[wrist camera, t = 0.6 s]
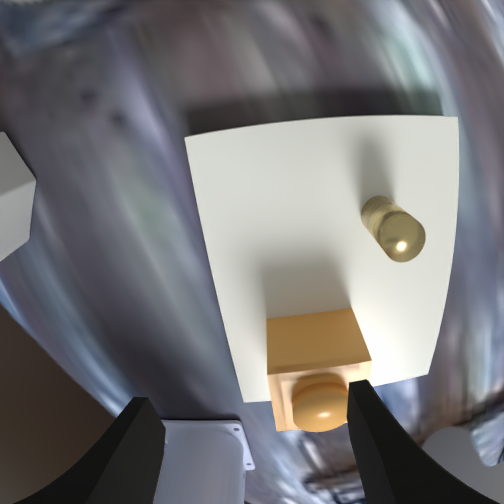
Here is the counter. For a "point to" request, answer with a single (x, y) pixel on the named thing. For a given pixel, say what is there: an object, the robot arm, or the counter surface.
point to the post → (393, 229)
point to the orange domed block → (314, 368)
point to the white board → (327, 232)
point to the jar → (14, 198)
